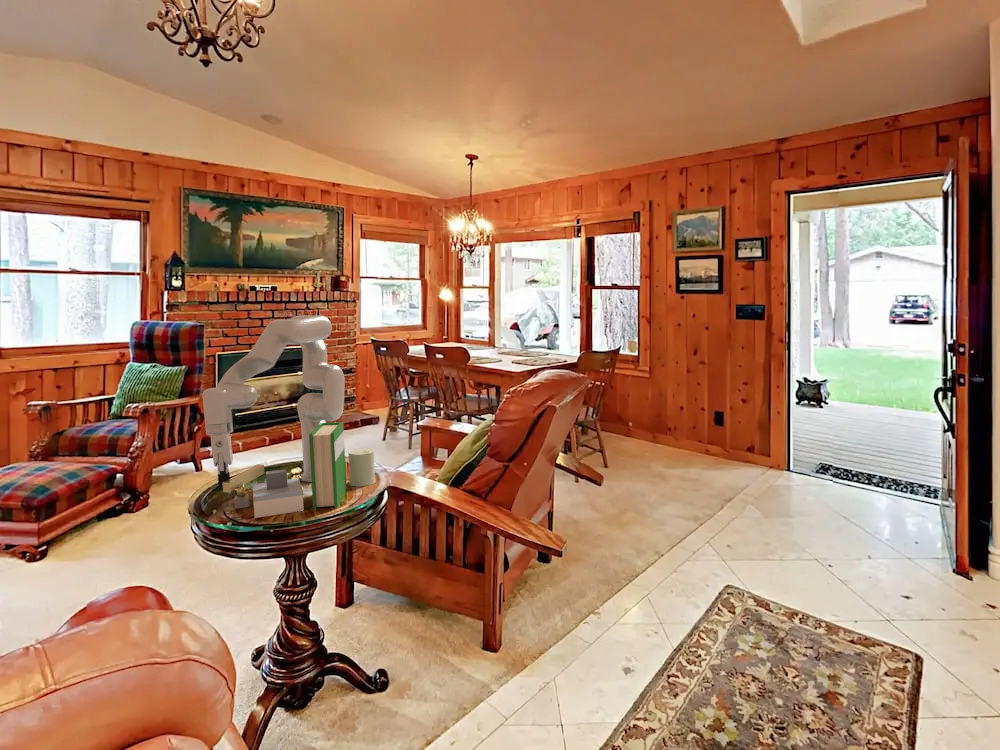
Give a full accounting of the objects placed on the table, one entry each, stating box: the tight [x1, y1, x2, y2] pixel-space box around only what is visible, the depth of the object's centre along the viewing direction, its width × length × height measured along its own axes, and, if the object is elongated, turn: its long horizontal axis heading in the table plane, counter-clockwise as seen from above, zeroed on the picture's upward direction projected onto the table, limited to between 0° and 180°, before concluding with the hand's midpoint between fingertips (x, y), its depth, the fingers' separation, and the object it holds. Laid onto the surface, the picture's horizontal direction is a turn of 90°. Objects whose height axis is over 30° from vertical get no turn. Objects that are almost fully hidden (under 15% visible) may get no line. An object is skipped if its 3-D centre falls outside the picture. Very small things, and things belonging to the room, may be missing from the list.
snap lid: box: [252, 469, 304, 503], centre depth 177 cm, size 14×14×6 cm
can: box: [347, 447, 377, 487], centre depth 202 cm, size 9×9×12 cm
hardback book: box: [309, 421, 347, 511], centre depth 183 cm, size 18×7×24 cm, turn 6°
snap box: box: [233, 493, 305, 519], centre depth 177 cm, size 20×16×5 cm
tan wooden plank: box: [222, 464, 265, 497], centre depth 181 cm, size 20×2×7 cm, turn 174°
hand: (224, 485), depth 176 cm, fingers closed
